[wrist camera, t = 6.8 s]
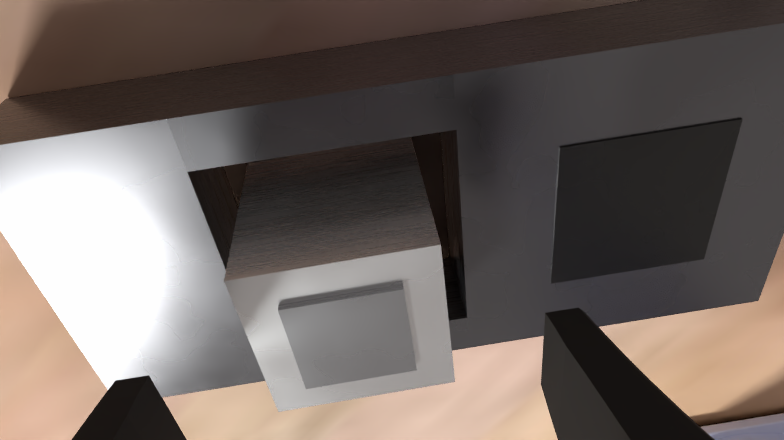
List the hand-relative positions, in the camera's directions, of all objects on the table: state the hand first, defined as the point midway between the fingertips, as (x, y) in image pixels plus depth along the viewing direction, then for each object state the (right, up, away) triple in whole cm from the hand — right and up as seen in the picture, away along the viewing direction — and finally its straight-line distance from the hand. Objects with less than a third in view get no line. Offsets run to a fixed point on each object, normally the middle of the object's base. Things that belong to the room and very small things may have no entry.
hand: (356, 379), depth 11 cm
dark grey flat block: (+1, +4, +5) cm, 6 cm away
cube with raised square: (-1, +3, +5) cm, 6 cm away
